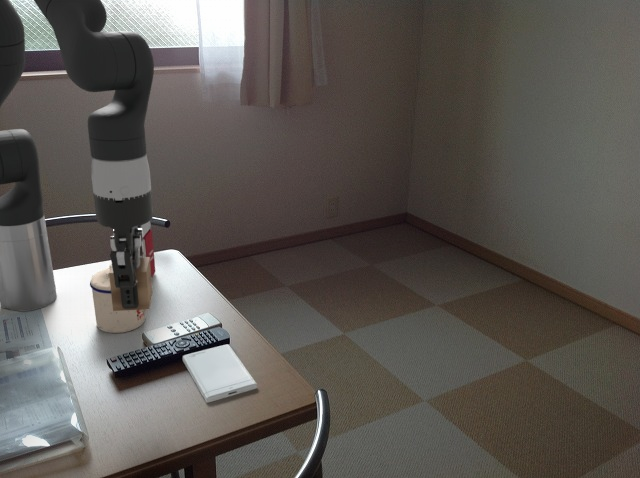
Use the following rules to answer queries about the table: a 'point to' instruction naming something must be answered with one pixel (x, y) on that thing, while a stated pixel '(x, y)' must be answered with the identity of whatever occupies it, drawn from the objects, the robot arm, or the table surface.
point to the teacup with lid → (104, 308)
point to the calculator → (148, 246)
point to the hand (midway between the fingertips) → (132, 297)
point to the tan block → (142, 287)
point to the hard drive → (218, 373)
